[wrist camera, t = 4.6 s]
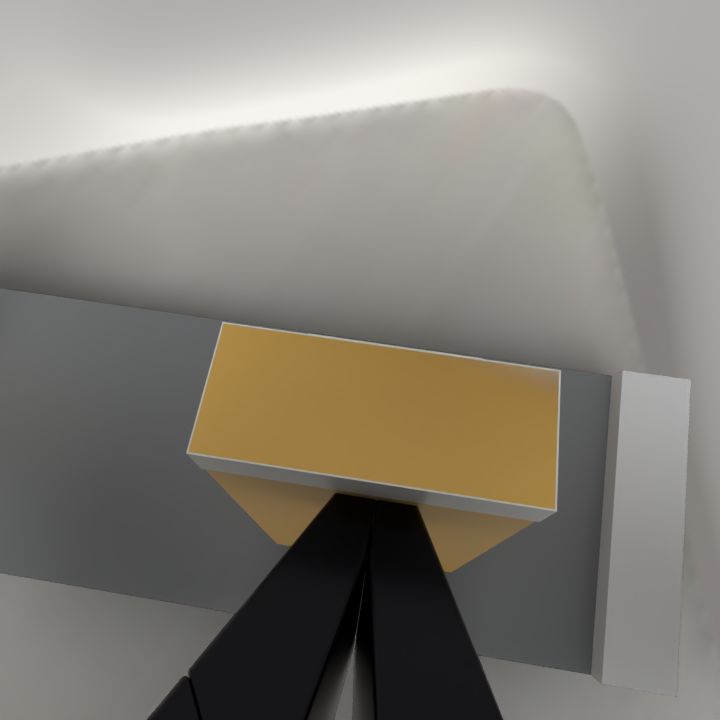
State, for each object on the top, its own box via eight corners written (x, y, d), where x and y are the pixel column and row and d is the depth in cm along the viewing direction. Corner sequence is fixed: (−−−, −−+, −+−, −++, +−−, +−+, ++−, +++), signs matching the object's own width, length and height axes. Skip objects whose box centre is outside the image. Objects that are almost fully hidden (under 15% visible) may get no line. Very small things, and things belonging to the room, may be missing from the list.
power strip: (594, 640, 18) (676, 696, 13) (-226, 502, 20) (-433, 504, 15) (610, 409, 20) (690, 379, 15) (-156, 297, 21) (-323, 235, 16)
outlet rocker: (452, 573, 14) (556, 512, 7) (275, 544, 14) (185, 453, 7) (458, 501, 14) (560, 370, 7) (290, 474, 15) (221, 321, 7)
